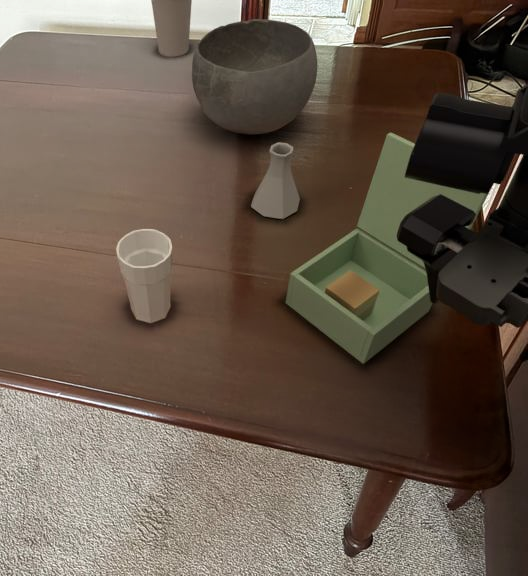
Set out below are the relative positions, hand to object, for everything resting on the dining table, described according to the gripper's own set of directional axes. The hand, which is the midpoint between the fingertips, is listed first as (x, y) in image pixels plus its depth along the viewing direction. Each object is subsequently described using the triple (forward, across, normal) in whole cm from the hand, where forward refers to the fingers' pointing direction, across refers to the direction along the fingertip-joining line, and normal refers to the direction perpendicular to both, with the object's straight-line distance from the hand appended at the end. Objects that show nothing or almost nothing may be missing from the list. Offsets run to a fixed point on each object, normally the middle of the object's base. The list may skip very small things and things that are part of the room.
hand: (477, 328), depth 55 cm
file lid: (-1, -14, +9) cm, 17 cm away
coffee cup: (+11, -86, +30) cm, 92 cm away
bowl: (+11, -54, +22) cm, 60 cm away
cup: (+11, -31, -18) cm, 37 cm away
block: (+11, -14, 0) cm, 18 cm away
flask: (+11, -35, +9) cm, 38 cm away
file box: (+11, -14, +2) cm, 18 cm away
